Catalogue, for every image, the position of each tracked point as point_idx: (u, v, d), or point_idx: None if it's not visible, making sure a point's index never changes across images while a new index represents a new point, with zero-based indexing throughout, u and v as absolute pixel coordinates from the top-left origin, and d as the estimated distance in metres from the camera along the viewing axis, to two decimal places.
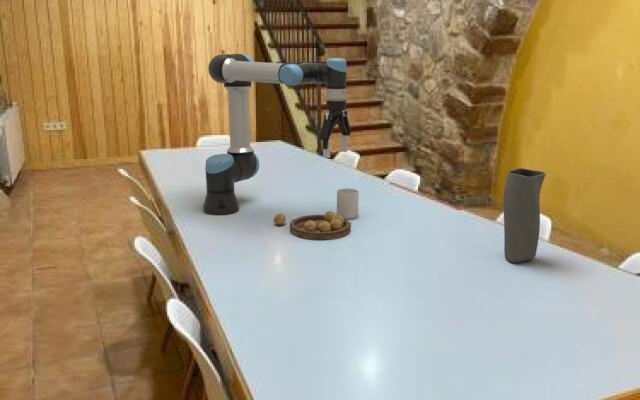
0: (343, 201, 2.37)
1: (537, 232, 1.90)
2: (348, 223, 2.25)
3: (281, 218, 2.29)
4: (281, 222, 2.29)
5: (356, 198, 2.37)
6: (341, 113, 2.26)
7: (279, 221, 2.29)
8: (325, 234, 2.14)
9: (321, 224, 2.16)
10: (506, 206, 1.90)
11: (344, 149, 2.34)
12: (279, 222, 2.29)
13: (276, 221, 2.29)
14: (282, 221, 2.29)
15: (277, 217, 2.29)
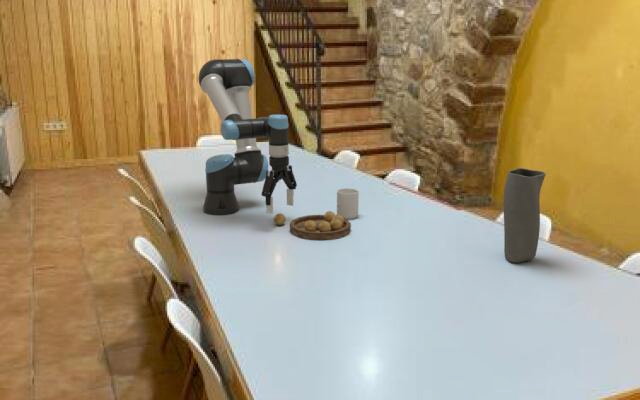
0: (343, 201, 2.37)
1: (537, 232, 1.90)
2: (348, 223, 2.25)
3: (281, 218, 2.29)
4: (281, 222, 2.29)
5: (356, 198, 2.37)
6: (285, 168, 2.27)
7: (279, 221, 2.29)
8: (325, 234, 2.14)
9: (321, 224, 2.16)
10: (506, 206, 1.90)
11: (290, 203, 2.34)
12: (279, 222, 2.29)
13: (276, 221, 2.29)
14: (282, 221, 2.29)
15: (277, 217, 2.29)
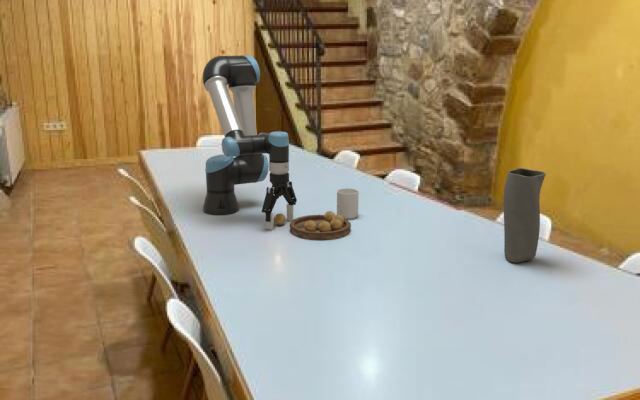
0: (343, 201, 2.37)
1: (537, 232, 1.90)
2: (348, 223, 2.25)
3: (281, 218, 2.29)
4: (281, 222, 2.29)
5: (356, 198, 2.37)
6: (285, 185, 2.29)
7: (279, 221, 2.29)
8: (325, 234, 2.14)
9: (321, 224, 2.16)
10: (506, 206, 1.90)
11: (289, 218, 2.36)
12: (279, 222, 2.29)
13: (276, 221, 2.29)
14: (282, 221, 2.29)
15: (277, 217, 2.29)
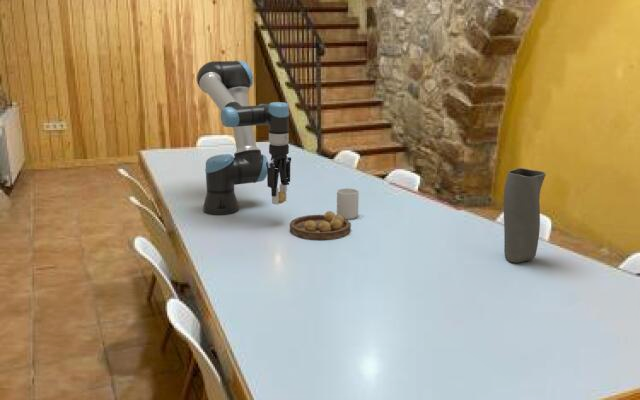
0: (343, 201, 2.37)
1: (537, 232, 1.90)
2: (348, 223, 2.25)
3: (281, 196, 2.27)
4: (281, 200, 2.27)
5: (356, 198, 2.37)
6: (285, 156, 2.26)
7: (279, 199, 2.27)
8: (325, 234, 2.14)
9: (321, 224, 2.16)
10: (506, 206, 1.90)
11: None
12: (279, 200, 2.27)
13: None
14: (282, 199, 2.27)
15: None
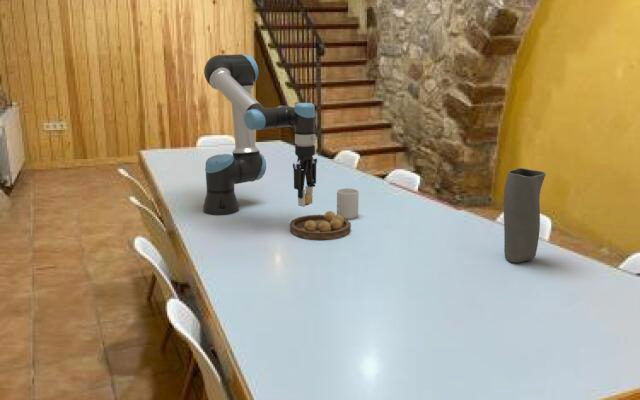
0: (343, 201, 2.37)
1: (537, 232, 1.90)
2: (348, 223, 2.25)
3: (308, 198, 2.24)
4: (307, 202, 2.24)
5: (356, 198, 2.37)
6: (311, 157, 2.23)
7: (305, 201, 2.24)
8: (325, 234, 2.14)
9: (321, 224, 2.16)
10: (506, 206, 1.90)
11: None
12: (305, 202, 2.24)
13: None
14: (308, 201, 2.24)
15: None
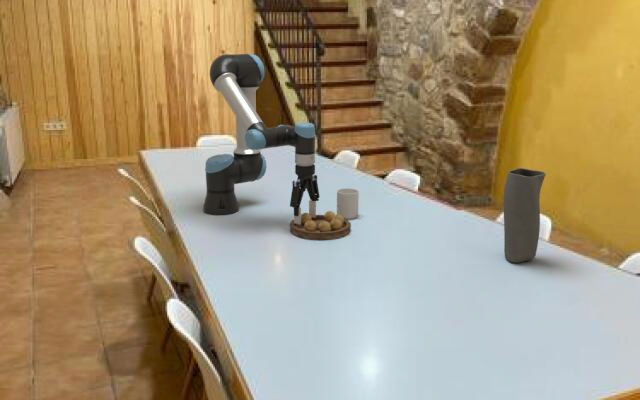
0: (343, 201, 2.37)
1: (537, 232, 1.90)
2: (348, 223, 2.25)
3: (308, 217, 2.26)
4: None
5: (356, 198, 2.37)
6: (311, 176, 2.25)
7: (305, 220, 2.26)
8: (325, 234, 2.14)
9: (321, 224, 2.16)
10: (506, 206, 1.90)
11: (312, 215, 2.32)
12: (305, 221, 2.26)
13: (302, 220, 2.26)
14: (308, 220, 2.26)
15: (303, 216, 2.26)
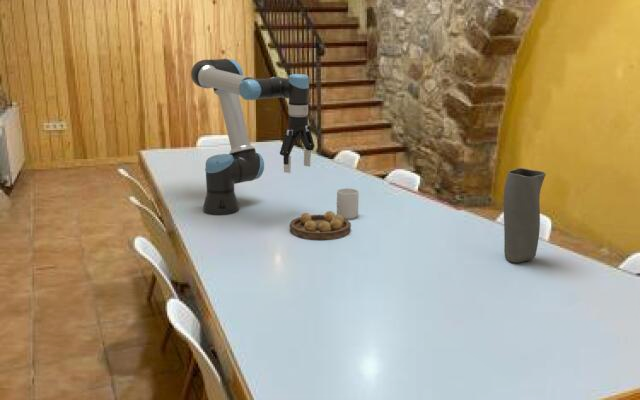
0: (343, 201, 2.37)
1: (537, 232, 1.90)
2: (348, 223, 2.25)
3: (307, 217, 2.26)
4: None
5: (356, 198, 2.37)
6: (303, 128, 2.28)
7: (305, 220, 2.26)
8: (325, 234, 2.14)
9: (321, 224, 2.16)
10: (506, 206, 1.90)
11: (307, 164, 2.36)
12: (305, 221, 2.26)
13: (302, 221, 2.26)
14: (308, 220, 2.26)
15: (303, 216, 2.26)
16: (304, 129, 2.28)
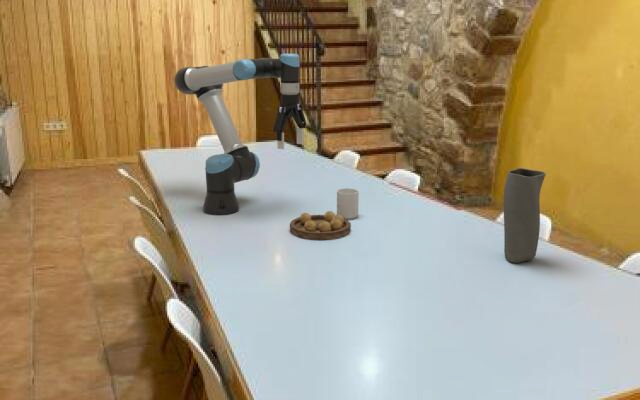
0: (343, 201, 2.37)
1: (537, 232, 1.90)
2: (348, 223, 2.25)
3: (307, 218, 2.26)
4: None
5: (356, 198, 2.37)
6: (295, 106, 2.36)
7: (305, 221, 2.26)
8: (325, 234, 2.14)
9: (321, 224, 2.16)
10: (506, 206, 1.90)
11: (299, 142, 2.44)
12: (305, 222, 2.26)
13: (302, 221, 2.26)
14: (308, 220, 2.26)
15: (303, 217, 2.26)
16: (296, 107, 2.36)
